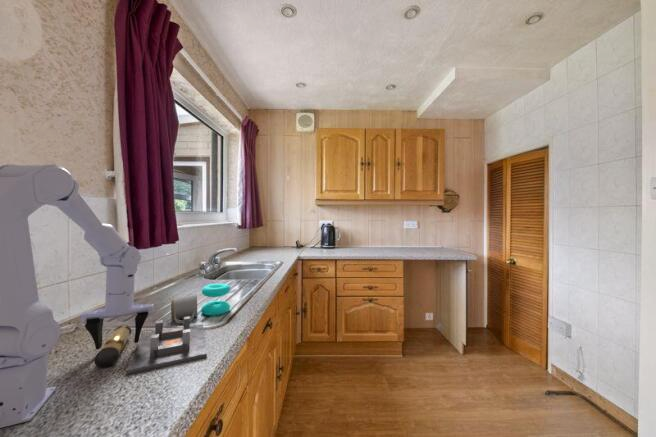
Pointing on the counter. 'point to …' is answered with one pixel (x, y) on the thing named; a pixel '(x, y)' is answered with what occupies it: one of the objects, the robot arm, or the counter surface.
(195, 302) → the ceramic mug
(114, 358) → the brass tube
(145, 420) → the counter surface
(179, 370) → the counter surface
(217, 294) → the donuts
